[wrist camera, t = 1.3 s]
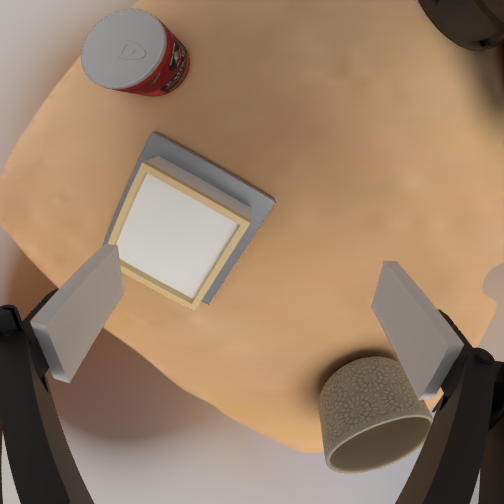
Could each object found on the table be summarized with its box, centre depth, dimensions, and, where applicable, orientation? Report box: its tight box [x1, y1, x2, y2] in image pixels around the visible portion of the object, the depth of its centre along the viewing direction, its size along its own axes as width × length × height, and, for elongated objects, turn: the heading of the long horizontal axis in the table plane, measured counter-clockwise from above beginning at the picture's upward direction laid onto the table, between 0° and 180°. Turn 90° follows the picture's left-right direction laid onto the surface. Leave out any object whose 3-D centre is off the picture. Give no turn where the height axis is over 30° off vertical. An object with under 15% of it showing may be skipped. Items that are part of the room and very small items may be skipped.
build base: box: [103, 132, 275, 311], centre depth 33 cm, size 16×16×7 cm
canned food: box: [81, 9, 189, 96], centre depth 24 cm, size 8×8×11 cm
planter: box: [319, 356, 433, 473], centre depth 41 cm, size 17×17×15 cm
